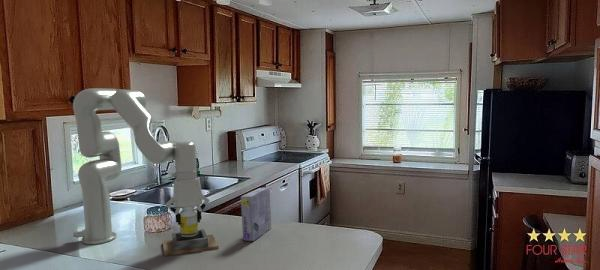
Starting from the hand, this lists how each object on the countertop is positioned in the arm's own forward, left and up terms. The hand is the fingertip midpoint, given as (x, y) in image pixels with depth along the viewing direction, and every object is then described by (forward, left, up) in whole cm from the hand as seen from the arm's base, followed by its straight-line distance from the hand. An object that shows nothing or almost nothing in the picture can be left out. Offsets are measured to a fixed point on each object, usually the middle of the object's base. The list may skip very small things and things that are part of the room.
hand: (188, 222), depth 160 cm
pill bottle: (0, 0, -5) cm, 5 cm away
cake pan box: (+27, +3, -9) cm, 29 cm away
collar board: (0, 0, -9) cm, 9 cm away
